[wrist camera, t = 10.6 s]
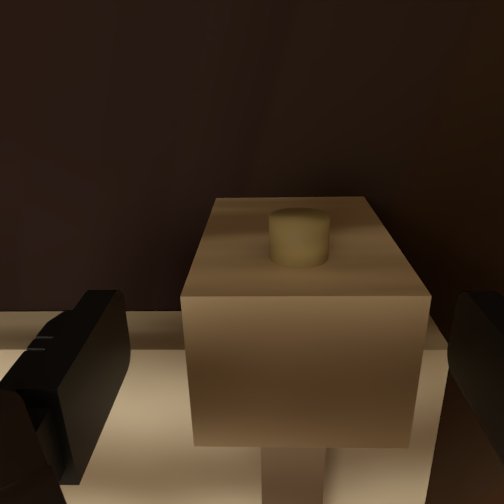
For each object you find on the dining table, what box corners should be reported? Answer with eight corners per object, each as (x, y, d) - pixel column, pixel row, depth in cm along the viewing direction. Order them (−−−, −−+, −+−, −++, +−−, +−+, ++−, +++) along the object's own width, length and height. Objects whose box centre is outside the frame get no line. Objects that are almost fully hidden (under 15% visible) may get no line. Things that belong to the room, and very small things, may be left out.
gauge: (214, 169, 15) (175, 250, 9) (366, 167, 15) (438, 249, 9) (230, 467, 21) (213, 654, 14) (342, 469, 20) (377, 659, 14)
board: (-294, 312, 18) (-377, 350, 16) (427, 310, 17) (452, 350, 15) (-193, 494, 22) (-248, 546, 20) (399, 502, 21) (415, 557, 19)
